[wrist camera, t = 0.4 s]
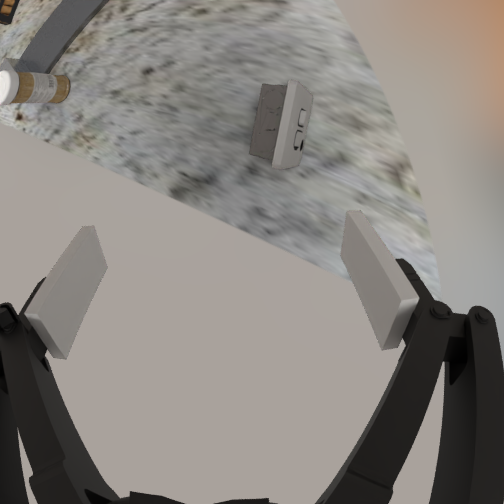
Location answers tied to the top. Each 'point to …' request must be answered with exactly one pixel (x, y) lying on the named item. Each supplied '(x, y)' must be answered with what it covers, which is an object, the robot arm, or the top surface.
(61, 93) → the sprinkles bottle
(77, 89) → the top surface
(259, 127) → the electrical switch
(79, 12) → the rail
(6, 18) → the ammunition clip
